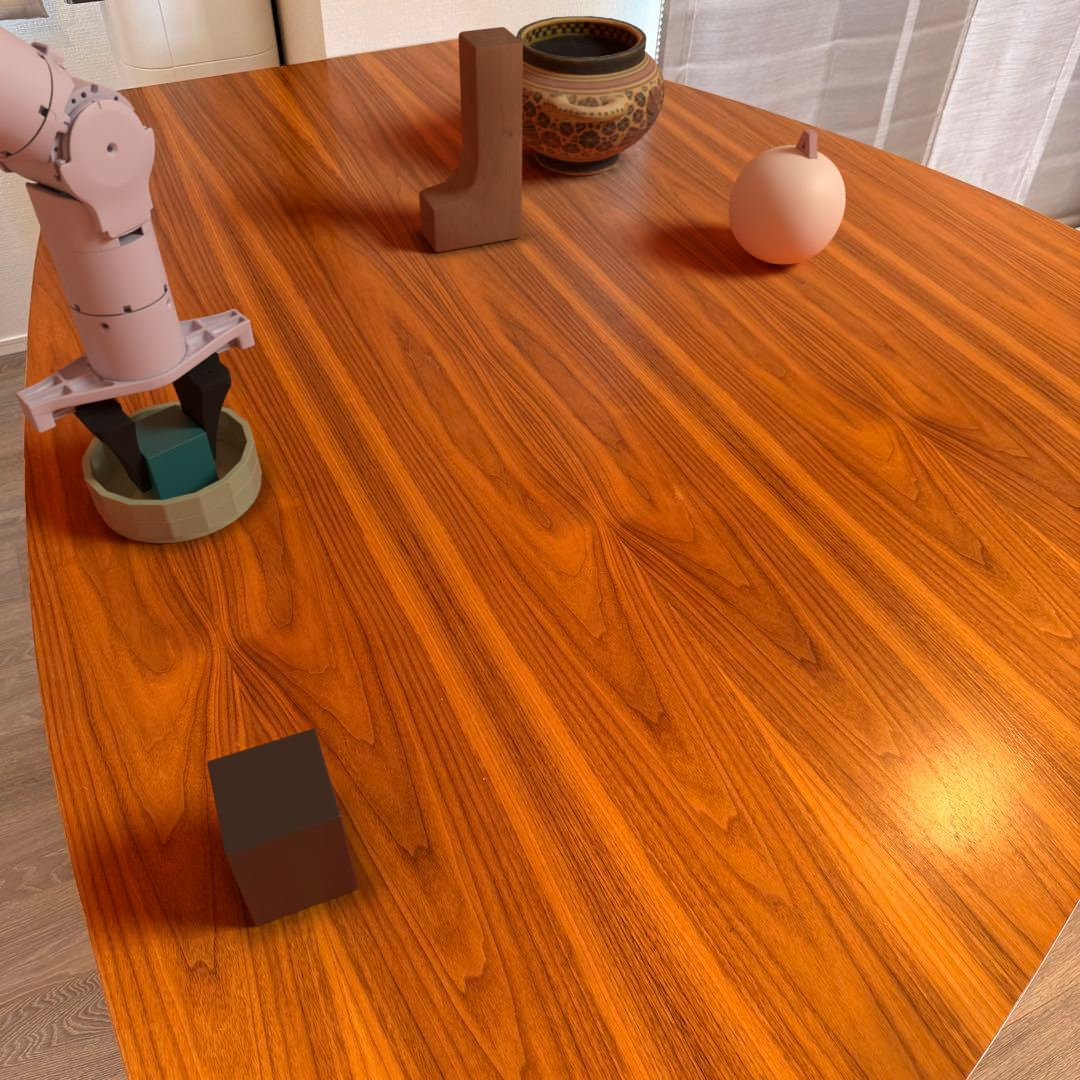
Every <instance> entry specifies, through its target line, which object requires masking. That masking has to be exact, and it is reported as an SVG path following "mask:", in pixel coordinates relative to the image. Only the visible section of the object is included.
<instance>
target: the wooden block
mask: <svg viewBox="0 0 1080 1080" xmlns="http://www.w3.org/2000/svg"><path fill="white" fill-rule="evenodd" d="M516 36H517V35H515V34H514V33H512V32H511V31H510V30H509V29H507V28H506V27H504V26H498V27H491V28H482V29H480V28H479V29H473V30H463V31H460V32H459V33H458V62H459V63H458V64H459V90H460V93H459V94H460V119H461V152H460V155H459V160H458V165H457V166H456V167H455V169H454V170H453V171H452V173H451V174H450V175H449V176H448V178H447V179H446V180H445V181H443V182H441V183H437V184H434V185H431V186H429V187H425V188H423V189H421V190H420V191H419V192H418V198H419V199H418V200H419V212H420V213H419V214H420V228H421V229H420V230H421V233H422V235H423V236H424V238H425V239H426V240H427V242H428V244H429V245H430V246H431V248H432V249H433V251H434V252H435V253H444V252H448V251H449V252H450V251H455V250H460V249H465V248H470V247H476V246H482V245H487V244H493V243H497V242H504V241H509V240H515V239H519V238H521V237H522V221H523V220H522V217H523V216H522V213H523V212H522V209H523V207H522V205H523V198H522V197H523V142H522V83H523V44H522V41H521V40H519V39H518V38H517V37H516Z"/></svg>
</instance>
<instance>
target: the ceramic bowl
mask: <svg viewBox="0 0 1080 1080" xmlns="http://www.w3.org/2000/svg"><path fill="white" fill-rule="evenodd" d="M515 36H516V37H517V38H518V39H519V40H521V41H522V44H523V83H522V144H525V145H526V146H527V147H529V148H530V149H532V150H534V158H535V160H536V161H537V163H539V165H540V166H541V167H543V168H545V169H547V170H549V171H552V172H555V173H559V174H562V175H567V176H576V177H577V176H593V175H597V174H602V173H603V172H606V171H608V170H610V169H613V168H614V167H615V166H616V165H617V164H618V162H619V161H620V158H621V153H622V152H624V151H626V150H628V149H629V148H631V147H633V146H634V145H635V144H637V143H638V142H639V141H640V140H641V139H643V138H644V136H645V135H646V134H647V133H648V132H649V131H650V130H651V128H652V127H653V126H654V124H655V123H656V121H657V119H658V117H659V115H660V113H661V110H662V108H663V103H664V99H665V88H666V87H665V79H664V75H663V73H662V71H661V70H662V69H661V68H660V66H659V64H658V62H657V61H656V60H655V58H653V57H652V56H651V55H650V54H649V53H648V52H647V51H646V46H647V35H646V33H645V32H644V30H642V29H641V28H639V27H638V26H637V25H635V24H632V23H629V22H627V21H625V20H621V19H616V18H612V17H603V16H595V15H594V16H593V15H583V16H581V15H579V16H578V15H577V16H576V15H571V16H569V15H568V16H552V17H549V18H544V19H539V20H536V21H533V22H530V23H528V24H526V25H524V26H522V27H521V28H520V29H519V30H518V32H517V33H516V35H515Z"/></svg>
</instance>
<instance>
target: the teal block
mask: <svg viewBox="0 0 1080 1080" xmlns="http://www.w3.org/2000/svg"><path fill="white" fill-rule="evenodd" d="M135 427H136V435H137V441H138V445H139V450H140V454H141V457H142V459H143V462H144V464H145V467H146V469H147V471H148V474H149V478H150V482H151V486H152V489H151V490H149V492H150V493H151V494H152V495H153V497H154V498H155V499H156V500H165V499H169V498H174V497H178V496H182V495H186V494H191V493H194V492H196V491H198V490H200V489H202V488H204V487H206V486H208V485H211V484H213V483H214V482H216V481H218V480H219V478H218V474H217V471H216V467H215V463H214V460H213V456H212V453H211V449H210V445H209V442H208V438H207V435H206V432H205V431H204V430H202V429H201V428H200V427H199V426H198V425H197V424H196V423H195V422H194V421H193V420H192V419H191V418H190V417H189V416H188V415H187V414H185V413H184V412H183V411H182V410H181V409H180V408H179V407H178V406H177V405H173V406H171V407H168V408H166V409H164V410H161V411H159V412H157V413H154V414H152V415H150V416H147V417H145V418H143V419H140V420H138V421H136V422H135Z"/></svg>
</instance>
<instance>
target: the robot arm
mask: <svg viewBox="0 0 1080 1080" xmlns="http://www.w3.org/2000/svg"><path fill="white" fill-rule="evenodd" d="M64 60H65V59H64V55H63V54H62V53H61V52H60V51H58V50H56V49H55V48H54V47H52V46H51V45H48V44H45V43H42V42H39V41H32V42H31V44H30V43H28V42H26V41H25V40H23V39H21V38H20V37H18V36H17V35H16V34H14V33H12V32H11V31H9V30H8V29H6V28H5V27H3V26H1V25H0V170H1V171H2V172H4V173H7V174H11V173H13V174H16V175H18V176H20V177H22V178H24V179H27V180H28V181H29V180H30V181H31V182H28V181H26V182H25V183H24V185H25V188H26V192H27V194H28V196H29V199H30V202H31V205H32V208H33V210H34V213H35V216H36V218H37V222H38V224H39V227H40V230H41V233H42V235H43V238H44V241H45V243H46V246H47V249H48V252H49V255H50V257H51V260H52V263H53V265H54V268H55V271H56V275H57V277H58V280H59V283H60V285H61V288H62V290H63V293H64V296H65V299H66V302H67V305H68V308H69V310H70V314H71V316H72V319H73V322H74V325H75V327H76V330H77V333H78V336H79V338H80V341H81V344H82V347H83V349H84V352H83V353H82V354H81V355H80V356H78V357H76V358H74V359H73V360H71V361H70V362H68V363H66V364H65V365H63V366H62V367H61V368H59V369H57V370H56V371H54V372H53V373H51V374H49V375H48V376H46V377H45V378H43V379H41V380H40V381H38V382H36V383H34V384H32V385H30V386H28V387H26V388H24V389H23V388H22V389H21V390H19V391H16V392H15V394H14V395H15V397H16V399H17V400H18V403H19V405H20V407H21V410H22V412H23V414H24V417H25V419H26V420H27V421H28V423H29V424H30V425H31V426H32V428H34V429H35V430H36V432H37V433H39V434H42V433H44V432H46V431H49V430H52V429H54V428H55V427H56V426H57V425H56V421H57V420H59V419H62V418H64V417H66V416H69V415H71V414H73V415H74V416H75V417H76V418H77V420H79V421H80V422H81V424H82V425H83V426H84V427H85V428H86V429H87V430H88V431H89V432H90V433H91V434H92V435H93V436H94V437H95V436H96V437H97V438H98V439H99V440H100V441H101V442H103V443H104V444H105V445H106V446H108V447H109V448H110V449H111V450H112V451H113V453H114V454H115V455H116V457H117V458H118V459H119V461H120V462H121V464H122V465H123V467H124V469H125V470H126V472H127V474H128V476H129V478H130V480H131V481H132V482H133V483H134V484H135V485H136V486H137V487H138V488H139V489H140V490H141V492H146V491H149V490H151V489H152V486H151V482H150V478H149V474H148V471H147V469H146V467H145V464H144V462H143V459H142V457H141V454H140V450H139V445H138V441H137V435H136V427H135V422H134V421H133V420H132V419H131V418H130V417H129V416H128V413H126V412H125V411H124V410H123V407H122V404H121V403H120V402H118V400H116V398H121V397H126V396H130V395H136V394H141V393H145V392H151V391H154V390H155V391H156V390H157V389H161V388H164V387H165V386H168V385H170V384H172V386H173V388H174V391H175V393H176V396H177V399H178V401H180V404H181V407H182V411H183V412H184V413H185V414H187V415H188V416H189V417H190V418H191V419H192V420H193V421H194V422H195V423H196V424H197V425H198V426H199V427H200V428H201V429H202V430H204V431H205V432H206V435H207V438H208V442H209V445H210V449H211V453H212V456H213V460H215V459H216V444H217V430H218V423H219V417H220V413H221V409H222V407H224V403H225V400H226V398H227V395H228V393H229V391H230V389H231V387H232V375H231V371H230V369H229V367H228V366H226V365H225V364H224V363H222V361H221V359H220V355H219V354H221V353H224V352H226V351H229V350H231V349H233V348H237V349H238V350H240V351H243V350H247V349H249V348H251V347H253V346H255V345H256V343H255V338H254V334H253V329H252V325H251V320H250V319H249V318H247V317H246V316H245V315H244V314H243V313H241V312H240V311H239V310H237V309H236V308H231V309H229V310H226V311H223V312H220V313H215V314H211V315H207V316H202V317H195V318H190V319H184V320H180V319H179V316H178V313H177V308H176V306H175V301H174V298H173V294H172V291H171V286H170V284H169V280H168V276H167V273H166V269H165V265H164V262H163V258H162V254H161V251H160V247H159V243H158V240H157V236H156V232H155V229H154V225H153V222H152V213H151V210H152V209H154V204H153V201H152V197H151V192H150V187H149V185H150V177H151V173H152V170H153V167H154V162H155V154H156V142H155V134H154V130H153V128H152V127H147V126H146V125H143V123H142V121H141V119H140V117H139V116H138V115H137V114H136V112H135V108H134V106H133V105H132V103H131V102H130V101H129V100H128V99H127V98H126V97H125V96H124V95H123V94H121V93H120V92H118V91H117V90H115V89H112V88H111V87H107V86H105V85H101V84H98V83H94V82H91V81H89V80H85V79H81V78H78V77H75V76H71V75H70V73H69V71H68V70H67V69H66V68H65V67H64V66H63V63H64Z"/></svg>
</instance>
